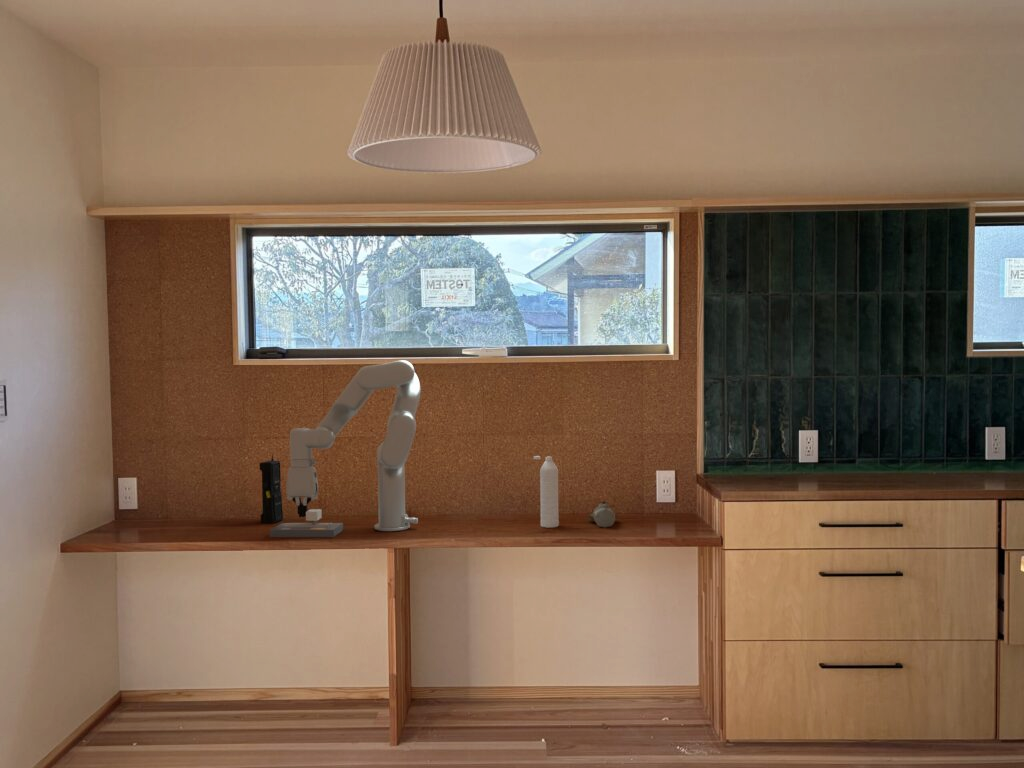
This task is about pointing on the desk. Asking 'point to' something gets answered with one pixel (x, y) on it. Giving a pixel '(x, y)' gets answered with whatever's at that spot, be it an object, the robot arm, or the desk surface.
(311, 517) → the fader knob
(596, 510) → the ceramic sculpture
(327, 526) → the fader console
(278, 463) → the portable radio
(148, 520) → the desk surface
